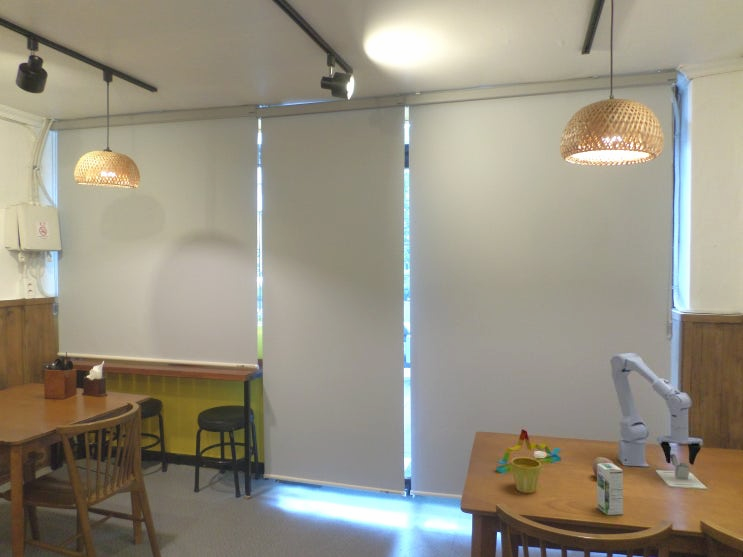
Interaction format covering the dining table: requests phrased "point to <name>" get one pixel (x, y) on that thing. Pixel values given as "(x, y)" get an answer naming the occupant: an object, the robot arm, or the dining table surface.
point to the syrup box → (610, 489)
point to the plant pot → (525, 473)
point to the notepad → (680, 480)
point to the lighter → (680, 468)
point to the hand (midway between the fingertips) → (679, 463)
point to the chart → (547, 459)
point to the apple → (599, 461)
